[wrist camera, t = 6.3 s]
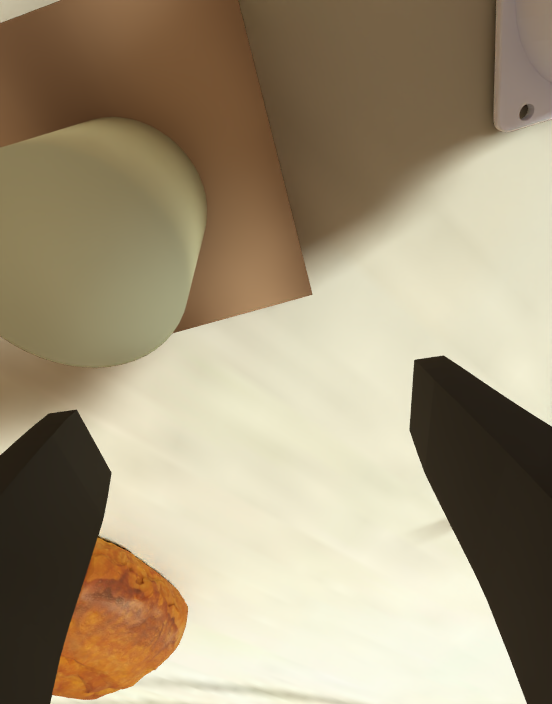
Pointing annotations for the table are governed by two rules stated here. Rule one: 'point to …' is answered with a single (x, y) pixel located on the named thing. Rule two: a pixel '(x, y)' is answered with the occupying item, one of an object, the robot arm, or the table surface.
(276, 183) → the walnut base
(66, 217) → the sage cylinder
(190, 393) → the table surface
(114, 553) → the croissant
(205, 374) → the table surface
